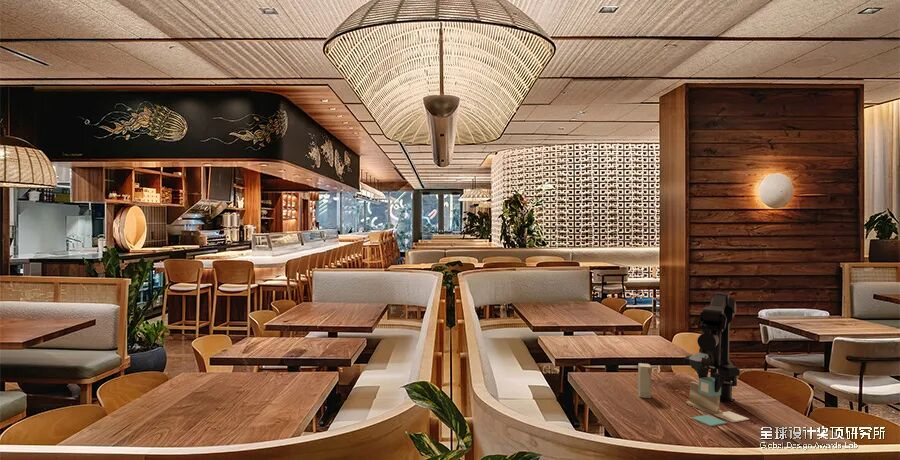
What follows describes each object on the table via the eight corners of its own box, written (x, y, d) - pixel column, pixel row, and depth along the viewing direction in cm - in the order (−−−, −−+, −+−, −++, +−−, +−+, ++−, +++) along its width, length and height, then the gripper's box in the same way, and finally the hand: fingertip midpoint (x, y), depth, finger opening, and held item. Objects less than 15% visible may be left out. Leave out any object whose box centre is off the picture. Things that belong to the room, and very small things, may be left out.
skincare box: (651, 398, 216) (652, 367, 216) (639, 397, 217) (640, 366, 217) (648, 393, 222) (649, 363, 222) (637, 392, 223) (638, 362, 223)
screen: (693, 402, 212) (694, 380, 212) (722, 414, 200) (723, 390, 200) (685, 404, 211) (686, 381, 211) (714, 415, 199) (715, 391, 199)
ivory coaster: (729, 412, 203) (729, 411, 203) (749, 419, 195) (749, 418, 195) (713, 414, 199) (713, 413, 199) (733, 422, 192) (733, 421, 192)
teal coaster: (707, 415, 198) (707, 414, 198) (727, 423, 191) (727, 422, 191) (691, 418, 195) (691, 417, 195) (710, 426, 187) (710, 425, 187)
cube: (708, 390, 196) (709, 376, 196) (721, 394, 191) (721, 380, 191) (698, 392, 194) (698, 378, 194) (710, 396, 189) (710, 382, 189)
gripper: (673, 341, 198) (671, 384, 198) (717, 353, 181) (716, 400, 181) (696, 339, 202) (694, 381, 202) (741, 350, 185) (739, 397, 185)
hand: (710, 390), depth 193 cm, fingers closed on cube, 5 cm apart
